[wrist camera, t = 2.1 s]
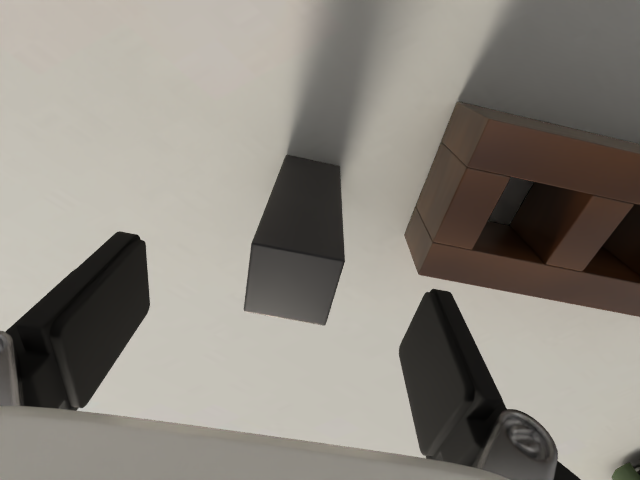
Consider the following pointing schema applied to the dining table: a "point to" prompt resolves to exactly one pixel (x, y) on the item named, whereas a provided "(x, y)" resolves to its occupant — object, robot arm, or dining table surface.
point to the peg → (298, 244)
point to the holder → (532, 211)
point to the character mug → (626, 473)
